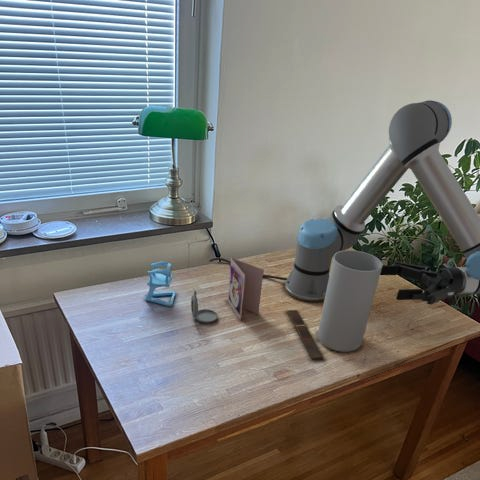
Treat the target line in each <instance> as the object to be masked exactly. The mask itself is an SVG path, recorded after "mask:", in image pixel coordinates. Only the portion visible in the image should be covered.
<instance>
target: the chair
mask: <svg viewBox="0 0 480 480" xmlns="http://www.w3.org/2000/svg"><path fill="white" fill-rule="evenodd" d="M158 266H164V267H165V268H155V267H158ZM172 266H173V265H172V264H171V263H169V262H166V261H158V262H153V263H151V268H152V270H148V271H147V274H148V276H149V279H148V281H147V283H146V284H147V286H149V289H148V293H147V295H146V296H145V300H146V301H147V302H152V303H156V304H160V305H162V306H168V307H172V306H173V303H174V301H175V297H176V291H159V292H158V291H157V292H156V291H155V290H156V289H157V288H170V286H171V283H172V280H173V278H174V277H173V274H172V273H171V271H172V268H173V267H172ZM163 296H171V299H170V301H165V300H162V299H159V298H155V297H163Z"/></svg>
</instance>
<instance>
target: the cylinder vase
mask: <svg viewBox="0 0 480 480" xmlns="http://www.w3.org/2000/svg"><path fill="white" fill-rule="evenodd" d="M383 265H384V264H383V262H382V260H381V259H380V258H378V257H377V256H375V255H373V254H371V253H368V252H365V251H360V250H353V249H352V250H351V249H347V250H344V251H339V252H337V253H335V254H334V256H333V257H332V261H331V266H330V271H329V281H328V285H327V290H326V295H325V300H323V305H322V309H321V310H322V311H321V315H320V319H319V324H318V329H317V339H318V340H319V342H320V343H321V344H322V345H323V346H325V347H326V348H328V349H330V350H333V351H336V352H340V353H342V352H343V353H348V352H349V353H350V352H354V351H356V350H357V349H358V350H359V348H360V347H361V345H362V343H363V339H364V336H365V332H366V328H367V324H368V321H369V317H370V315H371V310H372V306H373V303H374V299H375V295H376V292H377V288H378V285H379V280H380V276H381V275H380V273H381V269H382V266H383Z"/></svg>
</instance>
